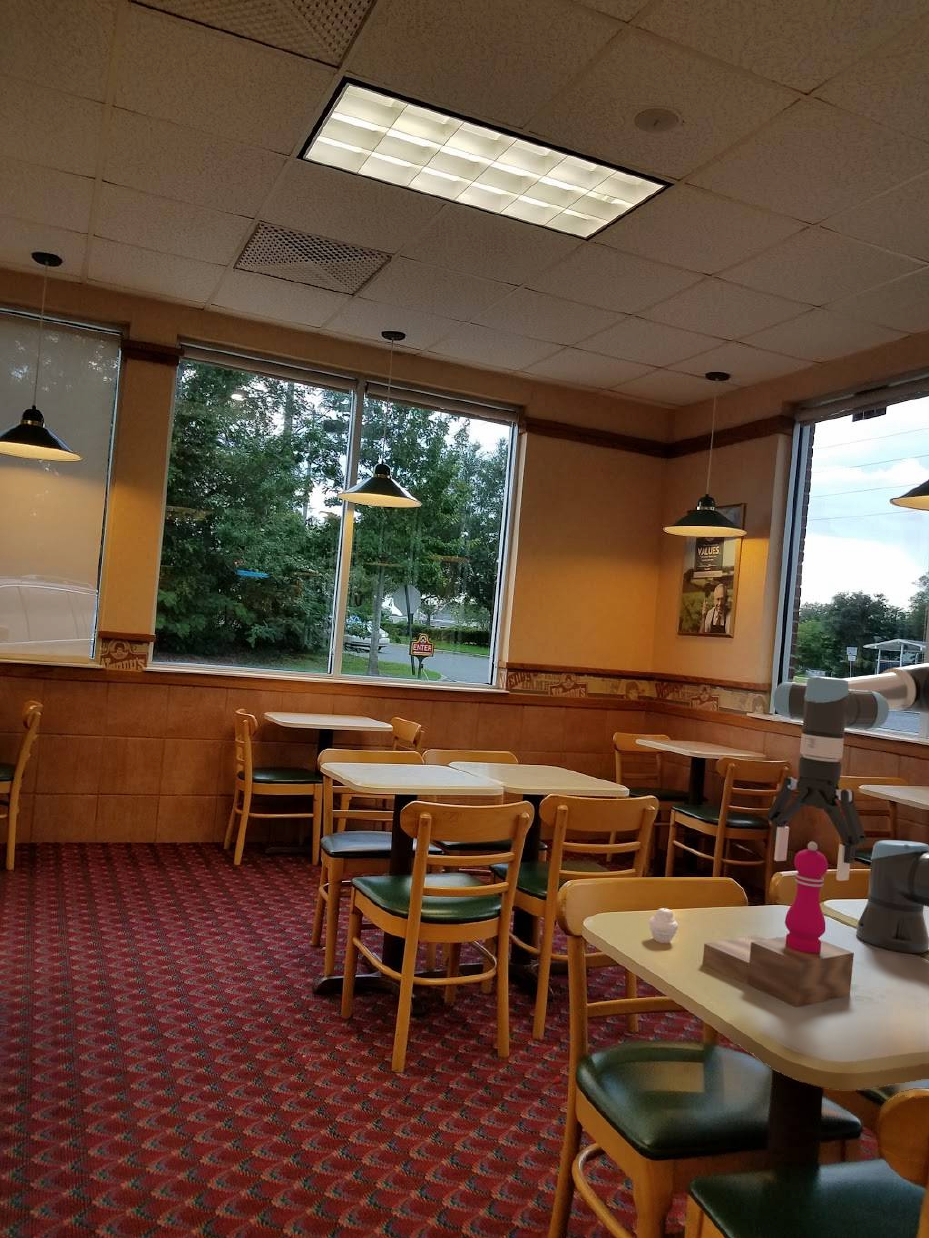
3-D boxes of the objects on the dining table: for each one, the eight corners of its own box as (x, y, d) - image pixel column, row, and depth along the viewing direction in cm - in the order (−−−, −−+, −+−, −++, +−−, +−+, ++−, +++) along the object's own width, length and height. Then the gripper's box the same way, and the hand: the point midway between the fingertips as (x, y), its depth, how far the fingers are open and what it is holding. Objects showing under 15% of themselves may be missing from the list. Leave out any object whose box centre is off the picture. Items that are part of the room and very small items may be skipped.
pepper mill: (826, 956, 169) (837, 848, 169) (785, 950, 171) (796, 842, 171) (819, 944, 176) (829, 840, 177) (780, 938, 178) (790, 835, 178)
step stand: (754, 954, 192) (758, 916, 192) (849, 995, 173) (853, 952, 173) (702, 963, 183) (706, 923, 183) (796, 1007, 164) (801, 962, 164)
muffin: (682, 944, 193) (686, 911, 194) (661, 947, 190) (664, 913, 190) (662, 934, 199) (665, 902, 199) (641, 937, 196) (644, 904, 196)
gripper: (754, 747, 182) (744, 853, 182) (869, 769, 162) (858, 890, 161) (778, 747, 187) (768, 851, 186) (893, 769, 166) (883, 887, 165)
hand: (810, 869), depth 174 cm, fingers open, 13 cm apart
